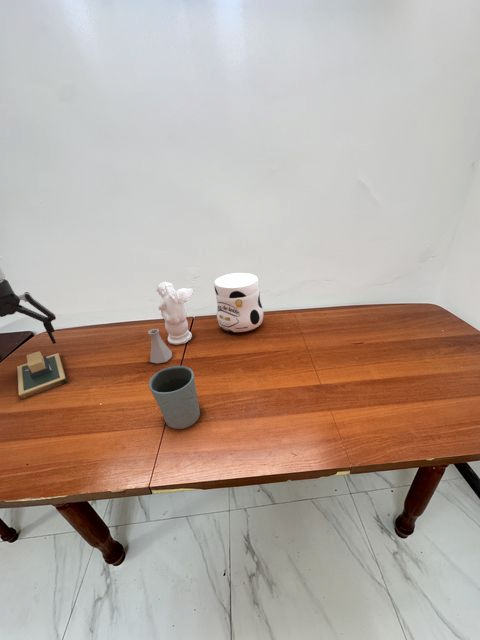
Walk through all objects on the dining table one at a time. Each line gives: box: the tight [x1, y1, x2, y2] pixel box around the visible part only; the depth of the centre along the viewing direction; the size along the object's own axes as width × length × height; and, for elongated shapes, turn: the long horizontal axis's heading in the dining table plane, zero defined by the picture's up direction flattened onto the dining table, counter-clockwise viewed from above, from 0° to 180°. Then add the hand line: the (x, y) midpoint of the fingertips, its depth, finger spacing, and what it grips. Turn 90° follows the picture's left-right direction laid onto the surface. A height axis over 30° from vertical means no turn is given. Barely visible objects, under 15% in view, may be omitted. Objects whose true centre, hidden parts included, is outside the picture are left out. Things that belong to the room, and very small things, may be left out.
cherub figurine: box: [156, 281, 195, 346], centre depth 100 cm, size 12×12×22 cm
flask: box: [147, 328, 173, 364], centre depth 94 cm, size 7×7×10 cm
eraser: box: [26, 350, 51, 378], centre depth 92 cm, size 9×5×4 cm, turn 37°
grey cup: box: [148, 365, 201, 430], centre depth 70 cm, size 10×10×12 cm
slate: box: [16, 352, 68, 400], centre depth 91 cm, size 18×12×2 cm, turn 37°
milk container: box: [213, 272, 264, 334], centre depth 107 cm, size 17×17×18 cm
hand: (28, 349), depth 89 cm, fingers open, 13 cm apart
